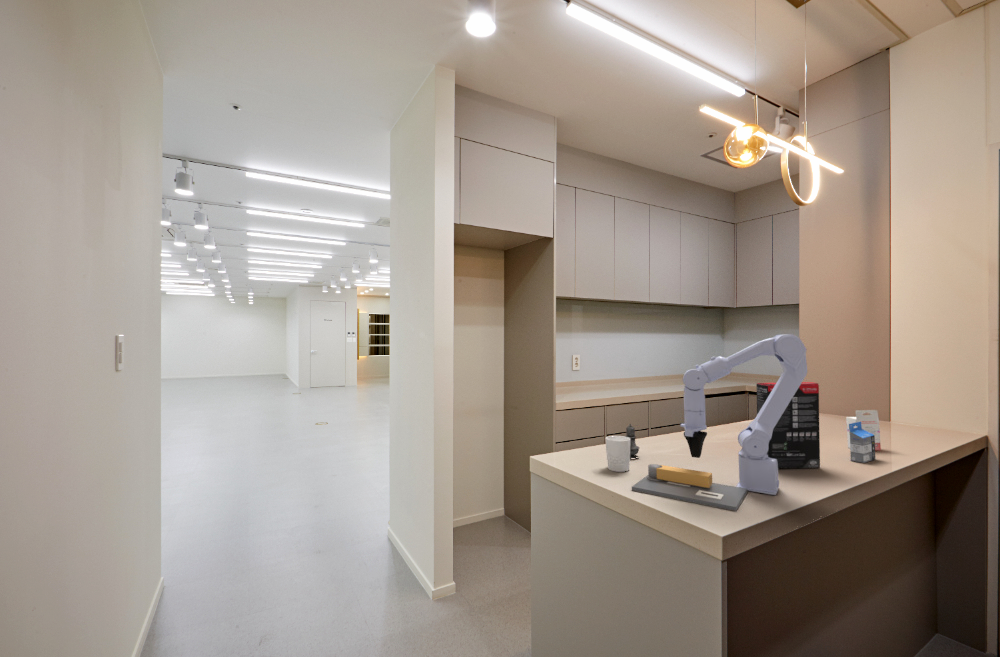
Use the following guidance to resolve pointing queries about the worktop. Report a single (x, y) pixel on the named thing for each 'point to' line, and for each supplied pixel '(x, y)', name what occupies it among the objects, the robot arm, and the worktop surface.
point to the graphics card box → (795, 427)
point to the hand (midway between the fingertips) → (696, 457)
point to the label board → (694, 492)
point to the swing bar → (680, 475)
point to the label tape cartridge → (861, 444)
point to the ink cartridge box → (866, 425)
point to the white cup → (618, 453)
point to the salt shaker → (632, 441)
